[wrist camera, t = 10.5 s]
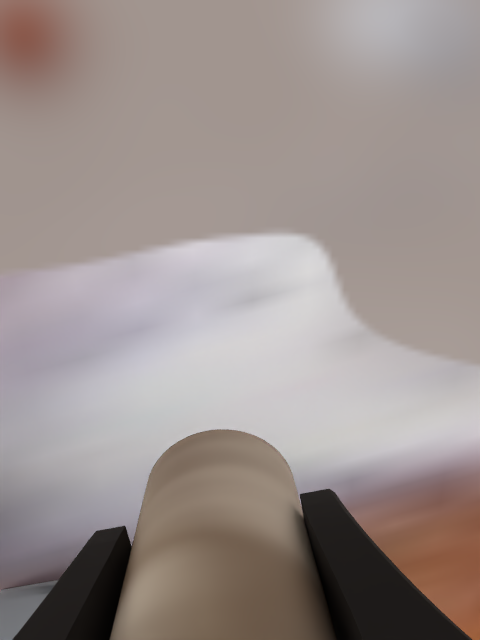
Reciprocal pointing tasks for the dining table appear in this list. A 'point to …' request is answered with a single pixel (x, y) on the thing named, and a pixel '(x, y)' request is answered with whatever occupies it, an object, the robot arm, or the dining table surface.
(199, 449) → the tan wooden peg
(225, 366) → the dining table surface
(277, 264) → the dining table surface
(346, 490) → the dining table surface
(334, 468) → the dining table surface
